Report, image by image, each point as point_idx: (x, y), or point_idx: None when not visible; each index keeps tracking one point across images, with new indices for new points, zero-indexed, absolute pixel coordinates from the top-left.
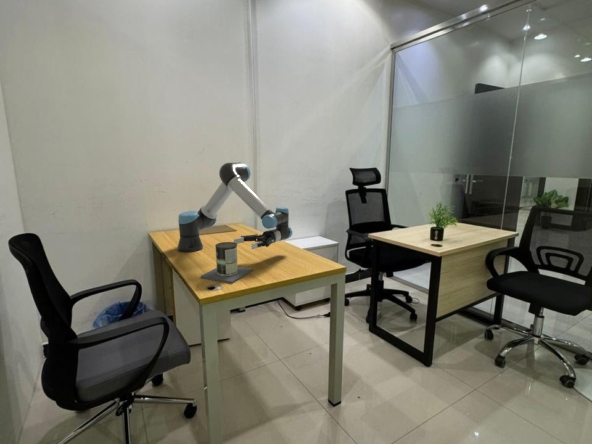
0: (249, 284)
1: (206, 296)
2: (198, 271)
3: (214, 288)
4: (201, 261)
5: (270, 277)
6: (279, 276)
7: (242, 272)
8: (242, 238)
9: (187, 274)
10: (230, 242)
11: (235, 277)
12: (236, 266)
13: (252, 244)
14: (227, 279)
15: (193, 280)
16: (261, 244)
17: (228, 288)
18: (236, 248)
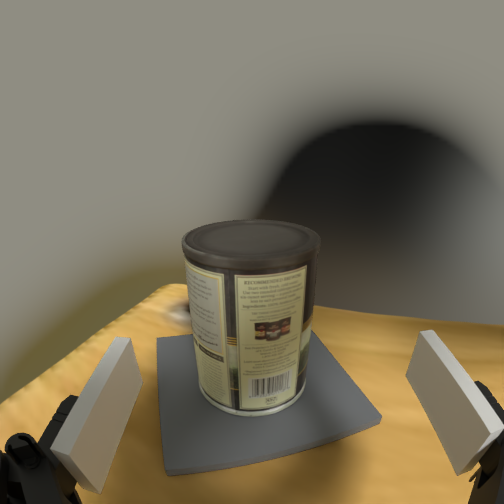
0: (94, 359)
1: (170, 287)
2: (374, 342)
3: (186, 310)
4: (493, 379)
5: (36, 432)
6: (2, 450)
7: (182, 409)
8: (472, 422)
9: (364, 317)
10: (277, 252)
11: (170, 361)
12: (197, 363)
13: (119, 342)
14: (186, 340)
15: None
16: (54, 431)
17: (146, 322)
18: (189, 270)
